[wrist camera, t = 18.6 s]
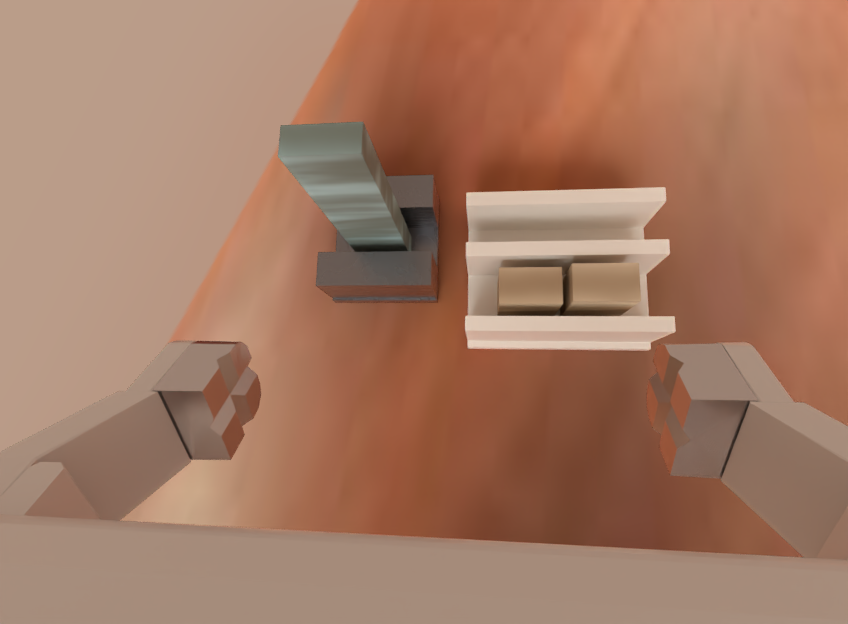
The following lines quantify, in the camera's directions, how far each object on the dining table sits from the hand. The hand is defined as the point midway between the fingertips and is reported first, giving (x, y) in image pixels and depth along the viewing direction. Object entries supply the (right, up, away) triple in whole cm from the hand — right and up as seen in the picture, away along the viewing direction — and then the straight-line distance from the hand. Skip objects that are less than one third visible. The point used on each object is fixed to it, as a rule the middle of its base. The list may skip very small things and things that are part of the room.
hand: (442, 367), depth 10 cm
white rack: (+12, +4, +37) cm, 39 cm away
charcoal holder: (-4, +7, +40) cm, 41 cm away
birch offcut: (+9, +2, +36) cm, 37 cm away
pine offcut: (+14, +2, +35) cm, 38 cm away
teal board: (-4, +7, +39) cm, 40 cm away
